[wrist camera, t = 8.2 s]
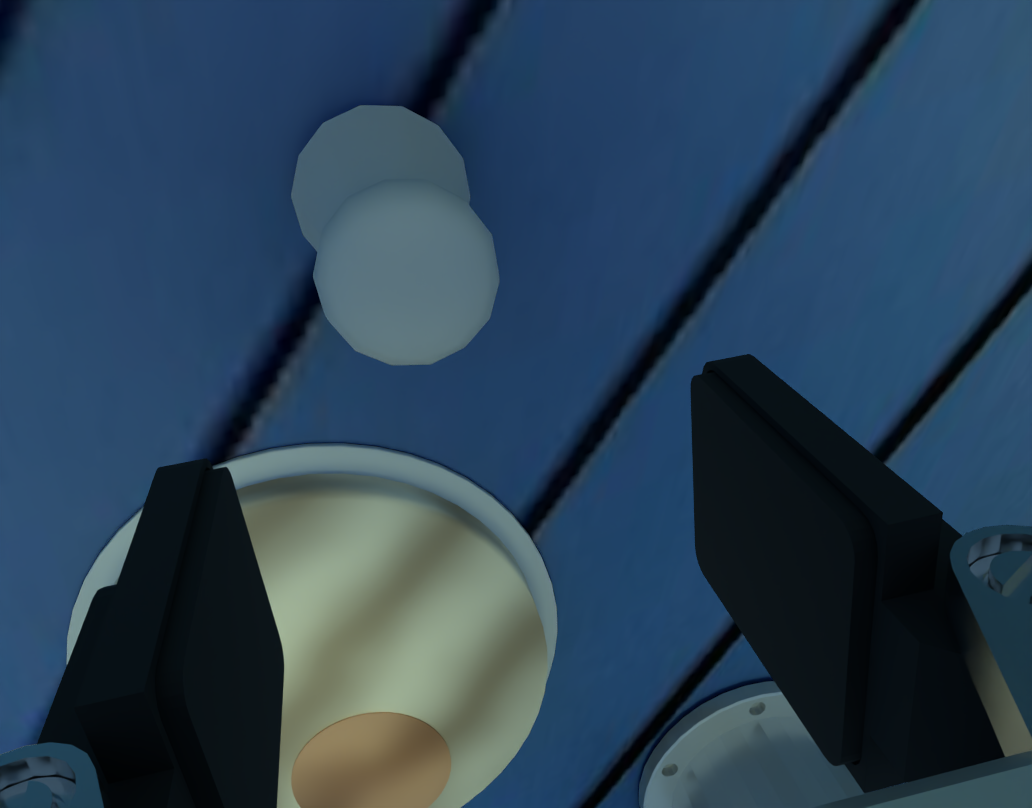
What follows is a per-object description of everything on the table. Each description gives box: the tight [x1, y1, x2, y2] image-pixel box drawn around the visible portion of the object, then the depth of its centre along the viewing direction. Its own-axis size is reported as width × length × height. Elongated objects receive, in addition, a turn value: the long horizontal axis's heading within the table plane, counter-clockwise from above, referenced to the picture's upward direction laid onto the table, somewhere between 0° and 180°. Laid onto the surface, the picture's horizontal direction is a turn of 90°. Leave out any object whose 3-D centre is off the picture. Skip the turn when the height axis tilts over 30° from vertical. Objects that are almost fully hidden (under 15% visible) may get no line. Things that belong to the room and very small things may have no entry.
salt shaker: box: [291, 105, 499, 365], centre depth 25 cm, size 6×6×13 cm
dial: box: [114, 474, 548, 808], centre depth 35 cm, size 19×19×7 cm
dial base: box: [67, 443, 557, 681], centre depth 39 cm, size 21×21×1 cm
